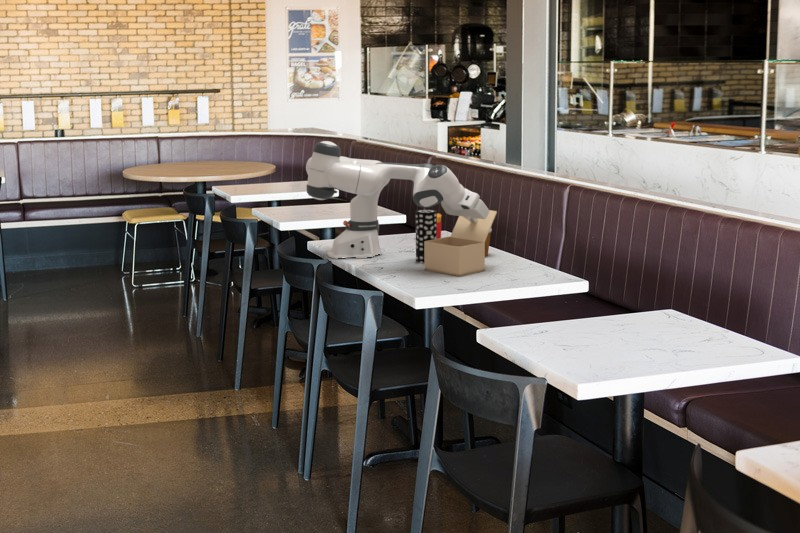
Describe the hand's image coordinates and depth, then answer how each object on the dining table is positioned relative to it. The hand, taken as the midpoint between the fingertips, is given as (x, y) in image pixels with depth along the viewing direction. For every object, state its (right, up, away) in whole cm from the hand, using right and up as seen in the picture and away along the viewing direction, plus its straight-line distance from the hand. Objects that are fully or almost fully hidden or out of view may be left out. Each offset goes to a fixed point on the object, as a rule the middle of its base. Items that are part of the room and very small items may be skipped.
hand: (474, 221), depth 372 cm
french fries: (-13, -7, +53) cm, 55 cm away
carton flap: (0, -1, 0) cm, 1 cm away
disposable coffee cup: (+4, -13, +24) cm, 27 cm away
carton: (-8, -19, -4) cm, 21 cm away
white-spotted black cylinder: (-18, -15, +14) cm, 27 cm away
